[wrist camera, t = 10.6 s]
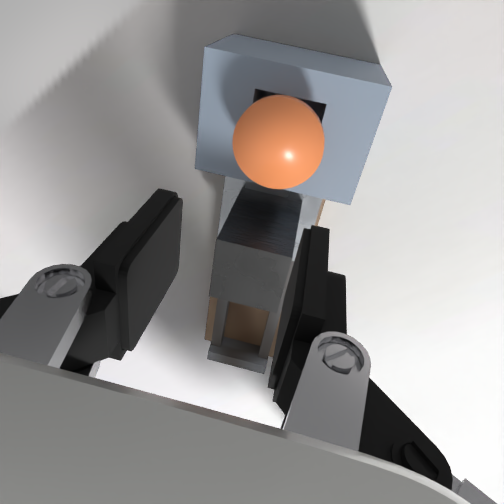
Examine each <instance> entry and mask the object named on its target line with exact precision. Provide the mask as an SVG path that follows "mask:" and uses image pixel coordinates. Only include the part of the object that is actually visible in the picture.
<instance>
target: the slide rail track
mask: <svg viewBox="0 0 504 504" xmlns="http://www.w3.org/2000/svg"><path fill="white" fill-rule="evenodd" d="M325 200H326V199H322V202H321V206H320V209H319V212H318V216H317V219H316V222H315V226H317V225H318V222H319V219H320V216H321V212H322V209H323V206H324V203H325ZM293 264H294V261H291V265H290V268H289V272H288V275H287V279H286V282H285V286H284V290H283V293H282V297H281V300H280V304H279V308H278V311H277V313H273V312H269V311H266V310H262V309H258V308H254V307H250V306H246V305H242V304H238V303H234V302H230V301H226V300H222V299H218V298H214V297H210V301H209V309H208V317H207V324H206V332H205V340H209V341H211V345H210V348H209V351H208V357H207V359H209V360H213V361H217V362H221V363H224V364H228V365H232V366H236V367H239V368H243V369H247V370H251V371H255V372H258V373H262V374H264V372H265V368H266V364H267V359H268V356H270V357H273V355H274V350H275V344H276V339H277V333H278V328H279V322H280V317H281V311H282V306H283V301H284V296H285V292H286V289H287V285H288V282H289V278H290V275H291V271H292V268H293Z"/></svg>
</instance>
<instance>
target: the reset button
mask: <svg viewBox="0 0 504 504" xmlns="http://www.w3.org/2000/svg"><path fill="white" fill-rule="evenodd" d="M324 143H325V137H324V130H323V126H322V124H321V121H320V119H319V117H318V116H317V114H316V113H315V112H314V110H313V109H312V108H311V107H310V106H308V105H307V104H306V103H305V102H303V101H301V100H299V99H297V98H295V97H292V96H288V95H271V96H267V97H264V98H262V99H259V100H258V101H256V102H254V103H253V104H252V105H250V106H249V107H248V108H247V110H246V111H245V112H244V113H243V114H242V116H241V117H240V119H239V120H238V122H237V124H236V126H235V129H234V133H233V141H232V144H233V152H234V156H235V159H236V161H237V163H238V165H239V167H240V168H241V170H242V171H243V172H244V174H245V175H246V176H247V177H248V178H250V179H251V180H252V181H254V182H256V183H257V184H259V185H262V186H264V187H267V188H272V189H287V188H292V187H295V186H297V185H299V184H301V183H303V182H305V181H306V180H307V179H309V178H310V177H311V176H312V175H313V174H314V173H315V171H316V170H317V168H318V166H319V165H320V163H321V160H322V157H323V152H324Z"/></svg>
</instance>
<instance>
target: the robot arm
mask: <svg viewBox="0 0 504 504" xmlns="http://www.w3.org/2000/svg"><path fill="white" fill-rule="evenodd" d="M182 206H183V201H182V198H178V195H177V193H176V192H172V191H168V190H164V189H158V190H157V191H156V192H155V193H154V194H153V195H152V196H151V197H150V198H149V199H148V200H147V202H146V203H145V204H144V205H143V206H142V207H141V208H140V209H139V210H138V212H137V213H136V214H135V215H134V216H133V217H132V218H131V219H130V220H129V221H128V222H122V223H121V224H119V225H118V227H117V228H116V229H115V230H114V231H113V232H112V233H111V234H110V235H109V236H108V237H107V238H106V239H105V240H104V242H103V243H102V244H101V245H100V246H99V247H98V248H97V249H96V250H95V251H94V252H93V253H92V254H91V255H90V257H89V258H88V259H87V260H86V261H85V262H84V263H83V264H82V265H81V266H76V265H72V264H60V265H53V266H50V267H47V268H44V269H42V270H41V271H39V272H37V273H36V274H35V275H34V276H33V277H32V278H31V279H30V280H29V281H28V283H27V284H26V285H25V287H24V288H23V289H22V291H21V292H20V293H19V294H16V295H12V296H8V297H4V298H0V504H497V503H495V502H494V501H493V500H492V499H490V498H489V497H488V496H487V495H485V494H484V493H483V492H482V491H480V490H479V489H478V488H477V487H475V486H474V485H473V484H472V483H470V482H469V481H468V480H467V479H464V480H463V481H462V482H461V481H460V480H458V479H457V478H456V477H455V476H453V475H452V473H451V469H450V466H449V464H448V462H447V460H446V458H445V457H444V455H443V454H442V453H441V452H440V450H439V449H438V448H437V447H436V446H435V445H434V444H433V442H432V441H431V440H430V439H429V438H428V437H427V436H426V435H425V434H424V433H423V432H422V431H421V430H420V429H419V428H418V427H417V426H416V425H415V424H414V423H413V422H412V421H411V420H410V419H409V418H408V417H407V416H406V415H405V414H404V413H403V412H402V411H401V410H400V409H399V408H398V407H397V406H396V404H395V403H394V402H393V401H392V400H391V399H390V398H389V397H388V396H387V395H386V394H385V393H384V392H383V391H382V390H381V389H380V388H379V387H378V386H377V385H376V384H375V383H374V382H373V381H372V380H371V379H370V378H369V375H370V368H371V362H370V357H369V355H368V352H367V350H366V349H365V348H364V347H363V345H362V344H361V343H359V342H358V341H357V340H356V339H354V338H353V337H351V336H349V335H347V324H346V278H345V275H341V274H337V273H333V272H329V271H328V253H329V229H327V228H323V227H319V226H315V225H312V226H311V228H310V229H307V228H304V229H303V233H302V236H301V240H300V243H299V247H298V250H297V254H296V257H295V261H294V264H293V268H292V271H291V275H290V278H289V282H288V285H287V289H286V292H285V296H284V301H283V306H282V311H281V317H280V322H279V328H278V333H277V339H276V344H275V350H274V355H273V361H272V366H271V372H270V377H269V383H268V388H271V389H275V390H274V396H273V402H276V403H277V404H278V406H279V407H280V408H281V410H282V411H283V412H284V414H285V416H284V419H283V421H282V424H281V427H280V429H279V428H275V427H272V426H268V425H265V424H261V423H257V422H254V421H250V420H247V419H243V418H239V417H236V416H232V415H229V414H225V413H221V412H218V411H214V410H211V409H207V408H203V407H200V406H196V405H192V404H189V403H185V402H181V401H178V400H174V399H170V398H167V397H163V396H159V395H156V394H152V393H148V392H145V391H141V390H137V389H134V388H130V387H126V386H122V385H119V384H115V383H111V382H108V381H104V380H100V379H97V378H95V376H96V374H97V371H98V369H99V366H100V361H101V360H103V359H106V358H113V359H117V360H120V361H121V359H122V358H123V356H124V354H125V353H126V351H127V350H128V351H132V350H133V349H134V348H135V346H136V344H137V343H138V341H139V339H140V337H141V336H142V334H143V332H144V330H145V329H146V327H147V325H148V323H149V322H150V320H151V318H152V316H153V315H154V313H155V311H156V309H157V308H158V306H159V304H160V302H161V301H162V299H163V297H164V295H165V294H166V292H167V290H168V288H169V287H170V285H171V283H172V281H173V280H174V278H175V276H176V274H177V271H178V267H179V254H180V238H181V222H182Z"/></svg>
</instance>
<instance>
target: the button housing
mask: <svg viewBox="0 0 504 504" xmlns="http://www.w3.org/2000/svg"><path fill="white" fill-rule="evenodd" d="M391 89H392V86H391V84H390V82H389V80H388V78H387V76H386V74H385V72H384V70H383V68H382V66H381V65H380V64H375V63H370V62H366V61H361V60H356V59H351V58H347V57H342V56H337V55H332V54H328V53H323V52H318V51H313V50H309V49H304V48H299V47H294V46H290V45H285V44H280V43H275V42H271V41H266V40H261V39H256V38H252V37H247V36H242V35H237V34H233V35H230V36H228V37H226V38H223V39H221V40H219V41H217V42H214V43H212V44H210V45H207V46H205V47H204V60H203V73H202V85H201V98H200V111H199V123H198V136H197V149H196V161H195V169H197V170H202V171H206V172H210V173H215V174H219V175H223V176H227V177H232V178H236V179H240V180H245V181H249V182H253V183H256V182H254V181H252V180H251V179H250V178H248V177H247V176H246V175H245V174H244V172H243V171H242V170H241V168H240V167H239V165H238V163H237V161H236V159H235V156H234V152H233V144H232V141H233V133H234V129H235V126H236V124H237V122H238V120H239V119H240V117H241V116H242V114H243V113H244V112H245V111H246V110H247V108H248V107H249V106H250V105H252V104H253V103H254V102H256V101H258V100H259V99H262V98H264V97H267V96H271V95H288V96H292V97H295V98H297V99H299V100H301V101H303V102H305V103H306V104H307V105H308V106H310V107H311V108H312V109H313V110H314V112H315V113H316V114H317V116H318V117H319V119H320V121H321V124H322V126H323V130H324V137H325V143H324V152H323V157H322V160H321V163H320V165H319V166H318V168H317V170H316V171H315V173H314V174H313V175H312V176H311V177H310V178H309V179H307V180H306V181H305V182H303V183H301V184H299V185H297V186H295V187H292V188H287V189H283V190H287V191H292V192H296V193H300V194H304V195H309V196H313V197H317V198H322V199H326V200H330V201H334V202H339V203H343V204H347V205H350V204H351V201H352V199H353V196H354V193H355V190H356V187H357V185H358V182H359V179H360V176H361V173H362V170H363V168H364V165H365V162H366V159H367V156H368V154H369V151H370V148H371V145H372V142H373V139H374V137H375V134H376V131H377V128H378V125H379V123H380V120H381V117H382V114H383V111H384V108H385V106H386V103H387V100H388V97H389V94H390V92H391Z"/></svg>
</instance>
